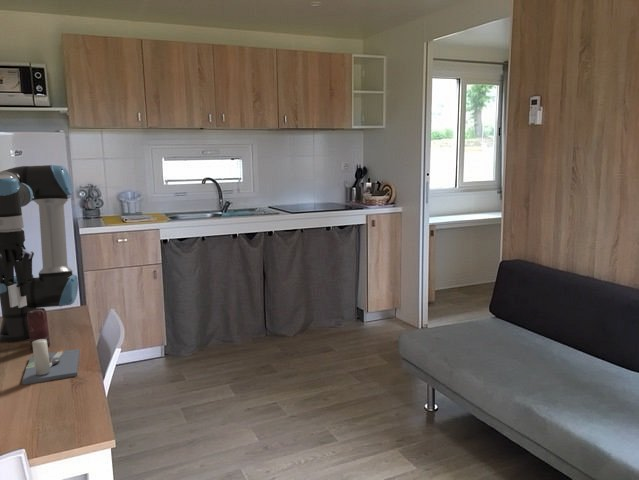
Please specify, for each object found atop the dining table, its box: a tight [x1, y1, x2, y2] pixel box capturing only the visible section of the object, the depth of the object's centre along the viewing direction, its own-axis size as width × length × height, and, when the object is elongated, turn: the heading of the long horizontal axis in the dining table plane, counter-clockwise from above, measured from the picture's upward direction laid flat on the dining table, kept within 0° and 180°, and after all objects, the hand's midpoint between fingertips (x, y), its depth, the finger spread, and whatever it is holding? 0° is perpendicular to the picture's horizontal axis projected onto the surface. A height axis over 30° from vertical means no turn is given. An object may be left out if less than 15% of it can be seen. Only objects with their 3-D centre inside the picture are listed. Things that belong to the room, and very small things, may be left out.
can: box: [27, 307, 51, 351], centre depth 188 cm, size 6×6×14 cm
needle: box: [32, 339, 64, 375], centre depth 170 cm, size 19×4×10 cm, turn 7°
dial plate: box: [21, 348, 81, 386], centre depth 171 cm, size 22×15×1 cm
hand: (18, 306), depth 162 cm, fingers open, 2 cm apart
